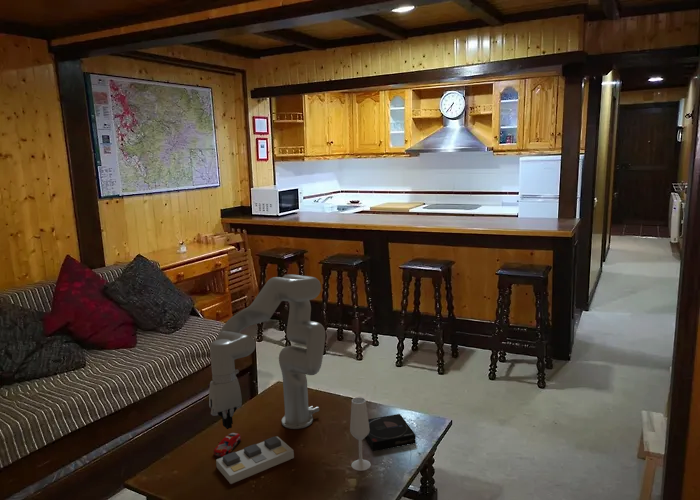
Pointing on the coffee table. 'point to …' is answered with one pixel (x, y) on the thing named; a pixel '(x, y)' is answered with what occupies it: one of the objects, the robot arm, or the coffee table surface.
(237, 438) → the race car
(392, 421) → the portable cd player
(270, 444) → the button
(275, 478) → the coffee table surface
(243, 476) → the button board
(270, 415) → the coffee table surface
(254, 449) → the button mid
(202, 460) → the coffee table surface
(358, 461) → the champagne flute
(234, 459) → the button
